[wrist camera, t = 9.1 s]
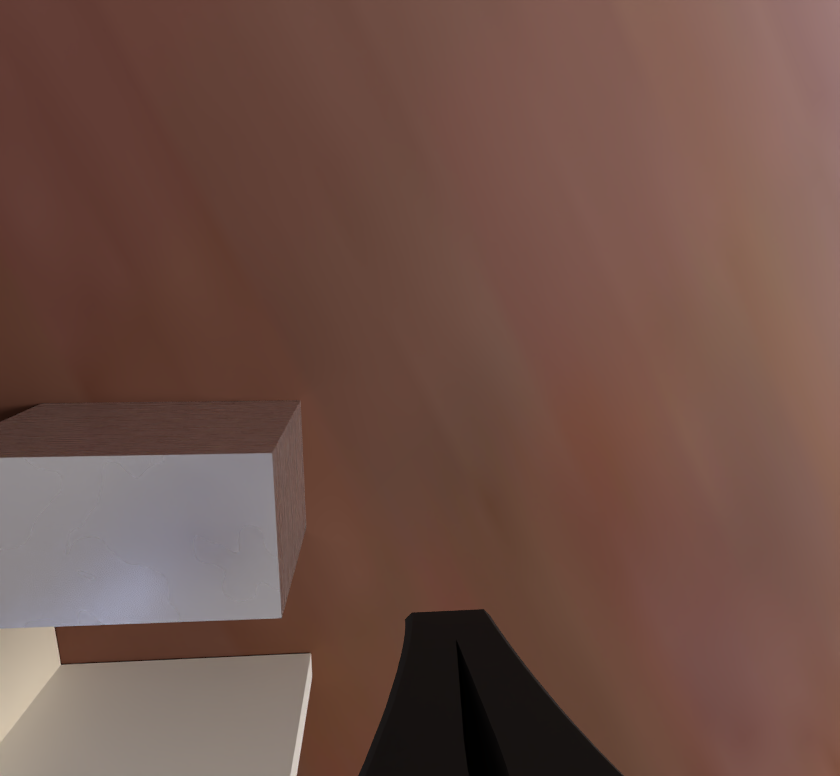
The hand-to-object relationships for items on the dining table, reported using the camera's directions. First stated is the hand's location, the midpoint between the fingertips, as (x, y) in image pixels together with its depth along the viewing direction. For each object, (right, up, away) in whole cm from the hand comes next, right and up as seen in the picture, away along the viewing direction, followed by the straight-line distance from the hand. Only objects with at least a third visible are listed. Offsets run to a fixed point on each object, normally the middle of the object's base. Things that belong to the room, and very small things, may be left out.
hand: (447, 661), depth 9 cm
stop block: (-8, +2, +9) cm, 12 cm away
